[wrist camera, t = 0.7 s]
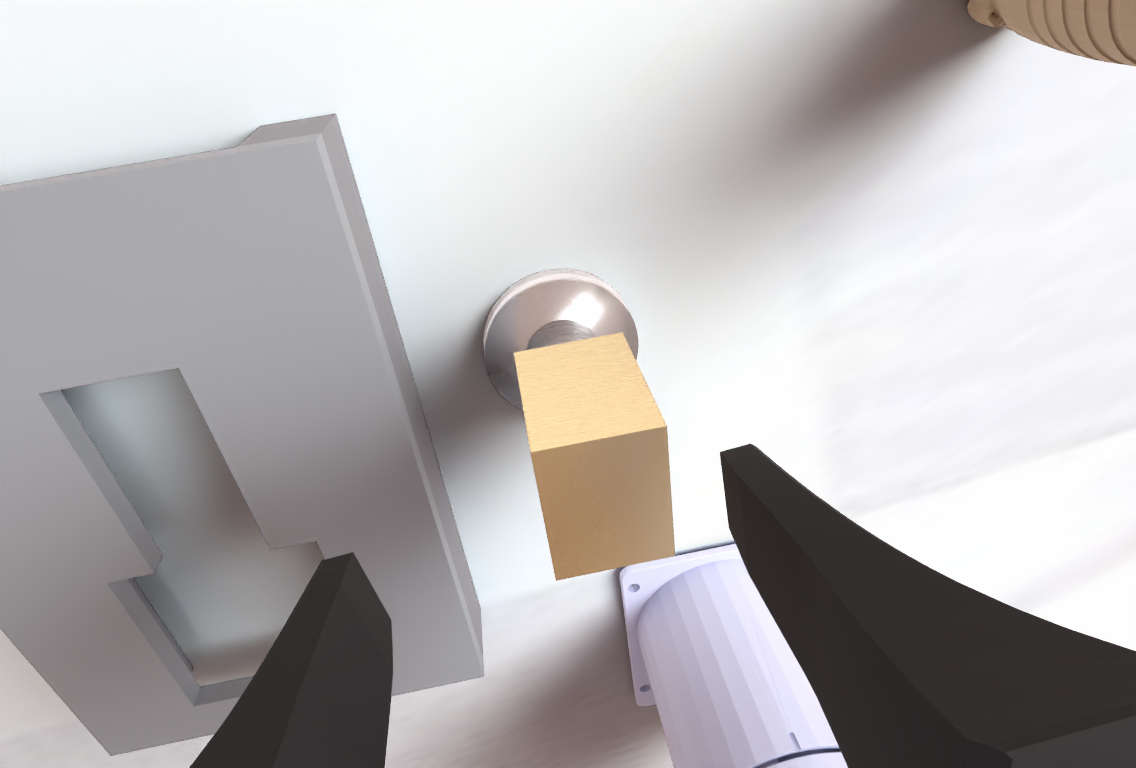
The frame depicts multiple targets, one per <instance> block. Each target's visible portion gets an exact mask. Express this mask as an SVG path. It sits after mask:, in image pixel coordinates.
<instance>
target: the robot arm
mask: <svg viewBox="0 0 1136 768" xmlns="http://www.w3.org/2000/svg"><path fill="white" fill-rule="evenodd" d="M720 457H721V465H722V473H723V482H724V490H725V498H726V507H727V515H728V523H729V529H730V531H731V534H732V536H733V538H734V541H735V543H736V544H732V545H727V546H722V547H717V548H712V549H707V550H702V551H698V552H693V553H688V554H683V555H678V556H673V557H668V558H663V559H659V560H654V561H649V562H644V563H639V564H634V565H630V566H627V567H625V568H624V569H622V571H621V572H620V584H621V592H622V600H623V608H624V616H625V624H626V631H627V639H628V647H629V655H630V663H631V671H632V679H633V686H634V694H635V699H636V703H637V705H639V706H641V707H647V706H652V705H657V709H658V713H659V716H660V720H661V723H662V727H663V730H664V734H665V737H666V741H667V745H668V748H669V752H670V755H671V759H672V762H673V766H674V768H1136V651H1133V650H1130V649H1127V648H1124V647H1121V646H1118V645H1115V644H1112V643H1109V642H1106V641H1103V640H1100V639H1097V638H1094V637H1091V636H1088V635H1085V634H1082V633H1079V632H1076V631H1073V630H1070V629H1067V628H1065V627H1062V626H1059V625H1057V624H1054V623H1052V622H1049V621H1047V620H1044V619H1041V618H1039V617H1036V616H1034V615H1031V614H1029V613H1026V612H1023V611H1021V610H1019V609H1016V608H1014V607H1011V606H1009V605H1007V604H1005V603H1002V602H1000V601H998V600H996V599H994V598H991V597H989V596H987V595H985V594H983V593H980V592H978V591H976V590H974V589H972V588H969V587H967V586H965V585H963V584H961V583H958V582H956V581H954V580H952V579H950V578H948V577H947V576H945V575H943V574H941V573H939V572H937V571H935V570H933V569H931V568H929V567H927V566H925V565H924V564H922V563H920V562H918V561H916V560H915V559H913V558H911V557H909V556H907V555H906V554H904V553H902V552H901V551H899V550H897V549H895V548H894V547H892V546H890V545H889V544H887V543H886V542H884V541H882V540H881V539H879V538H878V537H876V536H874V535H873V534H871V533H870V532H868V531H867V530H865V529H864V528H862V527H861V526H859V525H857V524H856V523H854V522H853V521H852V520H850V519H849V518H847V517H846V516H844V515H843V514H841V513H840V512H839V511H837V510H836V509H834V508H833V507H832V506H830V505H829V504H827V503H826V502H825V501H823V500H822V499H821V498H819V497H818V496H816V495H815V494H814V493H812V492H811V491H810V490H809V489H807V488H806V487H805V486H803V485H802V484H801V483H799V482H798V481H797V480H796V479H794V478H793V477H792V476H791V475H789V474H788V473H787V472H786V471H784V470H783V469H782V468H781V467H780V466H778V465H777V464H776V463H775V462H774V461H772V460H771V459H770V458H769V457H768V456H766V455H765V454H764V453H763V452H762V451H761V450H759V449H758V448H757V447H756V446H754V445H752V444H748V445H744V446H741V447H737V448H733V449H730V450H726V451H722V452H720ZM632 584H634V585H632ZM392 681H393V644H392V622H391V618H390V617H389V615H388V613H387V611H386V609H385V608H384V606H383V604H382V602H381V601H380V599H379V597H378V595H377V593H376V592H375V590H374V588H373V586H372V585H371V583H370V581H369V579H368V577H367V576H366V574H365V572H364V570H363V569H362V567H361V565H360V563H359V561H358V560H357V558H356V556H355V554H354V552H351V553H348V554H344V555H340V556H337V557H333V558H329V559H326V560H322V561H321V563H320V565H319V567H318V568H317V570H316V572H315V573H314V575H313V577H312V578H311V580H310V582H309V584H308V585H307V587H306V589H305V591H304V592H303V594H302V596H301V598H300V599H299V601H298V603H297V605H296V606H295V608H294V610H293V612H292V613H291V615H290V617H289V619H288V620H287V622H286V624H285V626H284V627H283V629H282V631H281V632H280V634H279V636H278V637H277V639H276V641H275V643H274V644H273V646H272V648H271V649H270V651H269V653H268V654H267V656H266V658H265V659H264V661H263V663H262V664H261V666H260V667H259V669H258V671H257V672H256V674H255V675H254V677H253V678H252V680H251V682H250V683H249V685H248V686H247V688H246V689H245V691H244V692H243V694H242V695H241V697H240V698H239V700H238V701H237V703H236V704H235V706H234V708H233V709H232V711H231V712H230V714H229V715H228V716H227V718H226V719H225V721H224V722H223V724H222V725H221V726H220V728H219V729H218V730H217V732H216V733H215V735H214V736H213V737H212V739H211V740H210V741H209V743H208V744H207V745H206V747H205V748H204V749H203V751H202V752H201V753H200V755H199V756H198V757H197V758H196V760H195V761H194V762H193V764H192V765H191V766H190V768H384V767H385V756H386V746H387V736H388V725H389V715H390V704H391V693H392Z"/></svg>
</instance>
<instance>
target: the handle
mask: <svg viewBox="0 0 1136 768" xmlns="http://www.w3.org/2000/svg"><path fill="white" fill-rule="evenodd" d="M967 9H968V13H969V14H970V16H971V17H972V18H973V19H974V20H975V21H977V22H979V23H981V24H983V25H986V26H990V27H994V28H998V27H1000V26H1004V27H1005V28H1007V29H1010V30H1012V31H1014V32H1016V33H1017V34H1018V35H1021V36H1023V37H1025V38H1027V39H1029V40H1031V41H1034V42H1037V43H1039V44H1042V45H1045V46H1048V47H1051V48H1054V49H1057V50H1059V51H1064V52H1067V53H1070V54H1074V55H1079V56H1083V57H1086V58H1090V59H1094V60H1100V61H1104V62H1111V63H1117V64H1125V65H1131V66H1136V0H969V3H968V5H967Z"/></svg>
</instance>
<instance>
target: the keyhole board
mask: <svg viewBox="0 0 1136 768" xmlns="http://www.w3.org/2000/svg"><path fill="white" fill-rule="evenodd" d="M177 368H179V370H180V372H181V374H182V376H183V378H184V380H185V382H186V384H187V386H188V388H189V390H190V392H191V394H192V396H193V398H194V400H195V402H196V404H197V406H198V408H199V410H200V412H201V414H202V416H203V418H204V420H205V422H206V424H207V426H208V428H209V430H210V432H211V434H212V436H213V438H214V440H215V442H216V444H217V446H218V448H219V450H220V452H221V454H222V456H223V457H224V459H225V461H226V463H227V465H228V467H229V469H230V471H231V473H232V475H233V477H234V479H235V481H236V483H237V485H238V487H239V489H240V491H241V493H242V495H243V497H244V499H245V501H246V503H247V505H248V507H249V509H250V511H251V513H252V515H253V517H254V519H255V521H256V523H257V525H258V527H259V529H260V531H261V533H262V535H263V537H264V539H265V541H266V543H267V545H268V547H269V549H270V551H271V550H276V549H281V548H286V547H291V546H296V545H301V544H306V543H311V542H316V541H317V544H318V546H319V548H320V550H321V553H322V555H323V557H324V559H325V560H326V559H329V558H333V557H337V556H340V555H344V554H348V553H351V552H354V554H355V556H356V558H357V560H358V561H359V563H360V565H361V567H362V569H363V570H364V572H365V574H366V576H367V577H368V579H369V581H370V583H371V585H372V586H373V588H374V590H375V592H376V593H377V595H378V597H379V599H380V601H381V602H382V604H383V606H384V608H385V609H386V611H387V613H388V615H389V617H390V618H391V622H392V644H393V681H392V693H391V696H395V695H400V694H404V693H409V692H414V691H418V690H423V689H428V688H433V687H437V686H442V685H447V684H451V683H456V682H461V681H465V680H470V679H475V678H480V677H484V666H483V646H482V627H481V608H480V605H479V601H478V598H477V595H476V591H475V588H474V584H473V581H472V577H471V574H470V571H469V567H468V564H467V560H466V557H465V554H464V550H463V547H462V543H461V540H460V536H459V533H458V530H457V526H456V523H455V519H454V516H453V513H452V509H451V506H450V502H449V499H448V495H447V492H446V489H445V485H444V482H443V478H442V475H441V472H440V468H439V465H438V461H437V458H436V454H435V451H434V448H433V444H432V441H431V437H430V434H429V431H428V427H427V424H426V420H425V417H424V413H423V410H422V407H421V403H420V400H419V396H418V393H417V390H416V386H415V383H414V379H413V376H412V372H411V369H410V366H409V362H408V359H407V355H406V352H405V349H404V345H403V342H402V338H401V335H400V331H399V328H398V325H397V321H396V318H395V314H394V311H393V308H392V304H391V301H390V297H389V294H388V290H387V287H386V284H385V280H384V277H383V273H382V270H381V267H380V263H379V260H378V256H377V253H376V249H375V246H374V243H373V239H372V236H371V232H370V229H369V226H368V222H367V219H366V215H365V212H364V208H363V205H362V202H361V198H360V195H359V191H358V188H357V185H356V181H355V178H354V174H353V171H352V167H351V164H350V161H349V157H348V154H347V150H346V147H345V144H344V140H343V137H342V133H341V130H340V126H339V123H338V120H337V116H336V114H331V115H325V116H318V117H312V118H306V119H300V120H294V121H288V122H282V123H275V124H269V125H263V126H260V127H259V128H258V129H257V130H256V131H254V132H253V133H252V134H251V135H250V136H249V137H247V138H246V139H245V140H244V141H243V142H242V143H240V144H239V145H238V146H237V147H233V148H226V149H220V150H214V151H208V152H202V153H196V154H190V155H184V156H178V157H172V158H166V159H160V160H154V161H147V162H141V163H135V164H129V165H123V166H117V167H111V168H105V169H99V170H93V171H87V172H81V173H74V174H68V175H62V176H56V177H50V178H44V179H38V180H32V181H26V182H20V183H14V184H8V185H2V186H0V629H1V630H2V631H3V632H4V634H5V635H6V636H7V637H8V638H9V639H10V640H11V642H12V643H13V644H14V645H15V646H16V647H17V648H18V650H19V651H20V652H21V653H22V654H23V655H24V657H25V658H26V659H27V660H28V661H29V662H30V663H31V665H32V666H33V667H34V668H35V669H36V670H37V672H38V673H39V674H40V675H41V676H42V677H43V678H44V680H45V681H46V682H47V683H48V684H49V685H50V686H51V688H52V689H53V690H54V691H55V692H56V693H57V695H58V696H59V697H60V698H61V699H62V700H63V701H64V703H65V704H66V705H67V706H68V707H69V708H70V710H71V711H72V712H73V713H74V714H75V715H76V716H77V718H78V719H79V720H80V721H81V722H82V723H83V724H84V726H85V727H86V728H87V729H88V730H89V731H90V733H91V734H92V735H93V736H94V737H95V738H96V739H97V741H98V742H99V743H100V744H101V745H102V746H103V747H104V749H105V750H106V751H107V752H108V753H109V754H110V756H113V755H117V754H122V753H127V752H131V751H136V750H141V749H145V748H150V747H155V746H160V745H164V744H169V743H174V742H178V741H183V740H188V739H193V738H197V737H202V736H207V735H211V734H215V733H216V732H217V730H218V729H219V728H220V726H221V725H222V724H223V722H224V721H225V719H226V718H227V716H228V715H229V714H230V712H231V711H232V709H233V708H234V706H235V704H236V703H237V701H238V700H239V698H240V697H241V695H242V694H243V692H244V691H245V689H246V688H247V686H248V685H249V683H250V682H251V680H252V678H253V677H254V676H250V677H245V678H241V679H236V680H231V681H226V682H221V683H217V684H212V685H207V686H202V687H200V686H199V684H198V683H197V681H196V680H195V678H194V677H193V675H192V674H191V673H192V670H193V667H192V665H191V664H190V662H189V661H188V659H187V658H186V656H185V655H184V653H183V652H182V650H181V649H180V648H179V646H178V645H177V643H176V642H175V640H174V639H173V637H172V636H171V634H170V633H169V631H168V630H167V628H166V627H165V625H164V624H163V622H162V621H161V619H160V618H159V616H158V615H157V613H156V612H155V610H154V609H153V607H152V606H151V604H150V603H149V601H148V600H147V598H146V597H145V595H144V594H143V592H142V591H141V589H140V588H139V586H138V585H137V583H136V582H135V580H134V579H133V578H134V577H140V576H145V575H150V574H154V573H155V571H156V568H157V566H158V564H159V562H160V560H161V558H162V556H163V554H162V553H161V551H160V549H159V548H158V546H157V545H156V543H155V541H154V540H153V538H152V537H151V535H150V533H149V532H148V530H147V529H146V527H145V525H144V524H143V522H142V521H141V519H140V517H139V516H138V514H137V512H136V511H135V509H134V508H133V506H132V504H131V503H130V501H129V500H128V498H127V496H126V495H125V493H124V492H123V490H122V488H121V487H120V485H119V484H118V482H117V480H116V479H115V477H114V475H113V474H112V472H111V471H110V469H109V467H108V466H107V464H106V463H105V461H104V459H103V458H102V456H101V455H100V453H99V451H98V450H97V448H96V447H95V445H94V443H93V442H92V440H91V438H90V437H89V435H88V434H87V432H86V430H85V429H84V427H83V426H82V424H81V422H80V421H79V419H78V418H77V416H76V414H75V413H74V411H73V410H72V408H71V406H70V405H69V403H68V402H67V400H66V398H65V397H64V395H63V393H62V392H61V389H67V388H72V387H78V386H83V385H89V384H94V383H100V382H105V381H111V380H116V379H122V378H127V377H133V376H138V375H144V374H149V373H155V372H160V371H166V370H171V369H177Z"/></svg>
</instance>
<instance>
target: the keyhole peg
mask: <svg viewBox="0 0 1136 768" xmlns="http://www.w3.org/2000/svg"><path fill="white" fill-rule="evenodd" d="M483 345H484V356H485V364H486V369H487V372H488V376H489V378H490V380H491V382H492V384H493V386H494V387H495V388H496V390H497V391H498V392H499V394H500V395H501V396H502V397H503V398H504V399H505V400H507V401H508V402H509V403H510V404H512V405H513V406H515V407H516V408H518V409H520V410H522V411H524V416H525V422H526V428H527V434H528V440H529V446H530V452H531V457H532V462H533V467H534V472H535V477H536V482H537V487H538V492H539V497H540V502H541V507H542V512H543V517H544V522H545V527H546V532H547V538H548V543H549V548H550V553H551V558H552V563H553V568H554V573H555V578H556V580H561V579H566V578H571V577H576V576H581V575H585V574H590V573H595V572H600V571H605V570H610V569H615V568H619V567H624V566H629V565H634V564H639V563H644V562H649V561H654V560H658V559H663V558H668V557H673V556H675V547H674V531H673V515H672V500H671V484H670V468H669V453H668V437H667V425H666V423H665V421H664V419H663V417H662V415H661V413H660V411H659V408H658V406H657V404H656V402H655V400H654V398H653V396H652V394H651V391H650V389H649V387H648V385H647V383H646V381H645V379H644V377H643V375H642V372H641V370H640V368H639V366H638V364H637V362H636V359H637V353H638V335H637V330H636V326H635V323H634V321H633V319H632V317H631V315H630V313H629V311H628V309H627V307H626V305H625V303H624V301H623V300H622V298H621V297H620V295H619V294H618V293H617V292H616V291H615V290H614V289H613V287H611V286H610V285H609V284H608V283H606V282H605V281H604V280H602V279H600V278H598V277H597V276H594V275H592V274H590V273H587V272H583V271H580V270H574V269H551V270H545V271H541V272H537V273H534V274H532V275H529V276H527V277H525V278H523V279H521V280H519V281H518V282H516V283H515V284H513V285H512V286H511V287H509V288H508V289H507V290H506V291H505V292H504V293H503V294H502V295H501V296H500V297H499V299H498V300H497V301H496V303H495V304H494V306H493V307H492V309H491V311H490V313H489V315H488V317H487V320H486V324H485V328H484V334H483Z"/></svg>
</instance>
